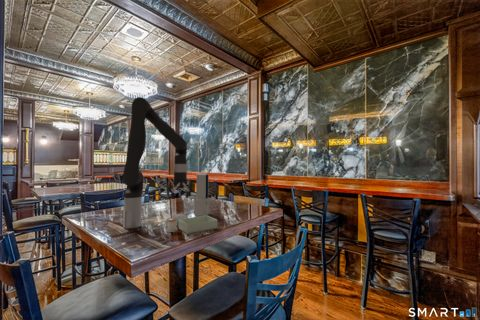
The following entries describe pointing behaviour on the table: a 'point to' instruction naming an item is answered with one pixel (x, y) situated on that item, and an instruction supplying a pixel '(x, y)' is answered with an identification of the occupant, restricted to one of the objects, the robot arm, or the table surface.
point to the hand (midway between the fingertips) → (180, 198)
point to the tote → (197, 224)
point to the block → (179, 216)
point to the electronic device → (202, 195)
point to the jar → (171, 225)
